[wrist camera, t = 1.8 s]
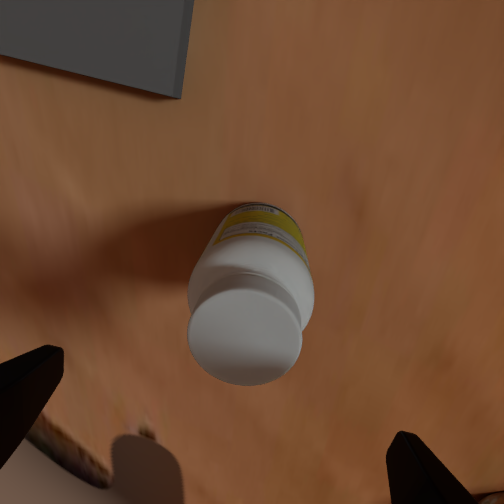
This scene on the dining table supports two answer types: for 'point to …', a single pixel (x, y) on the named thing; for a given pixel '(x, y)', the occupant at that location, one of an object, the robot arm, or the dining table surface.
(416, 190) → the dining table surface
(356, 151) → the dining table surface
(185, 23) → the charcoal block
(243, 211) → the supplement bottle
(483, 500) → the tin
